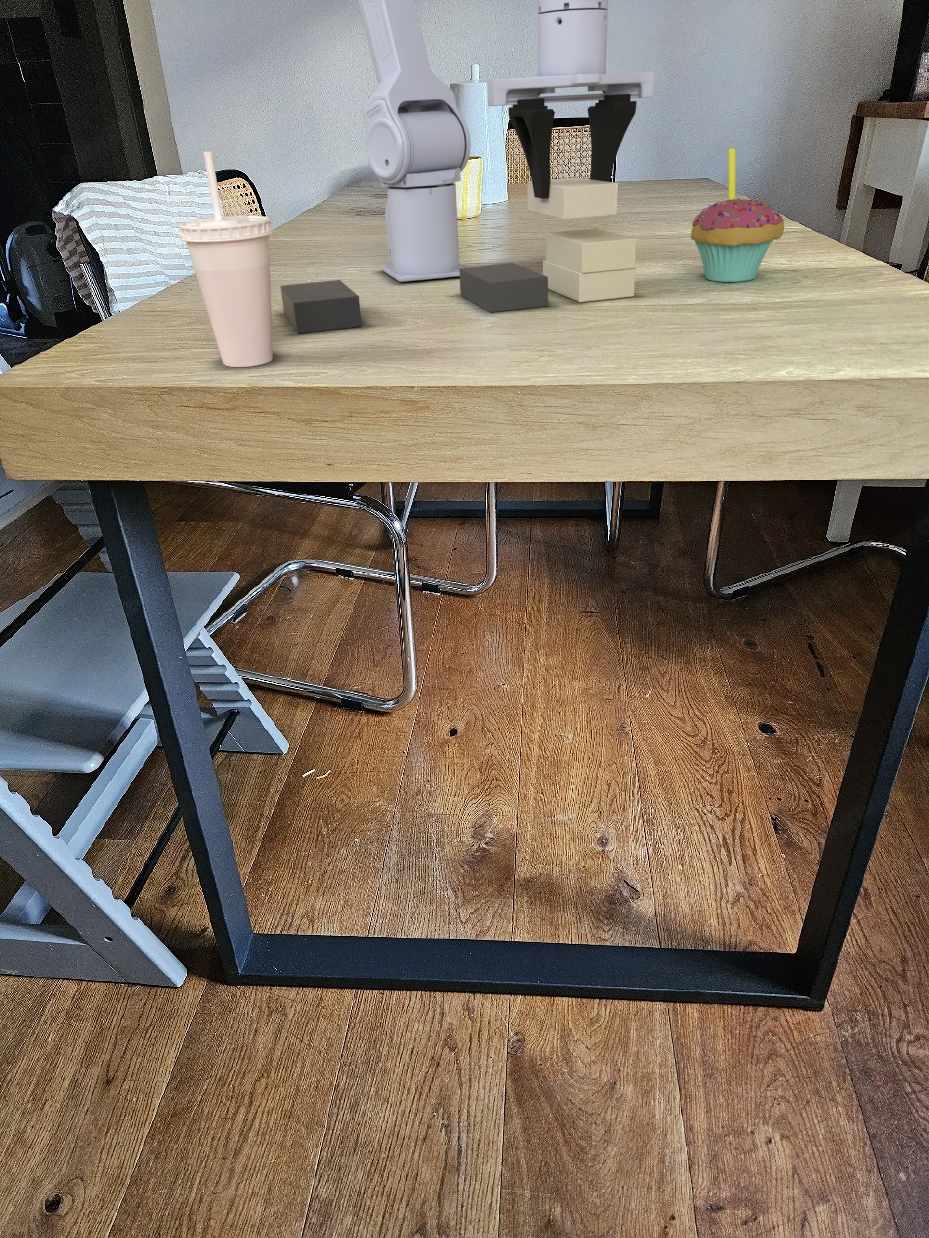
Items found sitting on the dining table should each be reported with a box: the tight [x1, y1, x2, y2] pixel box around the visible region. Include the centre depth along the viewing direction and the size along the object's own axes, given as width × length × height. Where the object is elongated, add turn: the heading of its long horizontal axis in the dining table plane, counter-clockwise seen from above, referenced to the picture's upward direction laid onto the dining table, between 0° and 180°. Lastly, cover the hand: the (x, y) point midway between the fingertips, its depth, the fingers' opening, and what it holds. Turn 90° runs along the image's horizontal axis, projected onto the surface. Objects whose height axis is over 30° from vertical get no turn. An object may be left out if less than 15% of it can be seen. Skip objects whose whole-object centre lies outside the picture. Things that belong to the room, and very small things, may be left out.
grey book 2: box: [459, 262, 549, 313], centre depth 82 cm, size 9×6×2 cm, turn 17°
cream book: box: [526, 177, 619, 220], centre depth 80 cm, size 9×5×2 cm, turn 17°
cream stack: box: [542, 227, 637, 303], centre depth 83 cm, size 9×6×5 cm, turn 17°
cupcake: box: [690, 138, 785, 283], centre depth 84 cm, size 9×8×12 cm
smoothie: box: [178, 150, 274, 368], centre depth 63 cm, size 6×6×14 cm
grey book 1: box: [279, 279, 363, 335], centre depth 78 cm, size 9×6×2 cm, turn 17°
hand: (570, 195), depth 80 cm, fingers closed on cream book, 5 cm apart
